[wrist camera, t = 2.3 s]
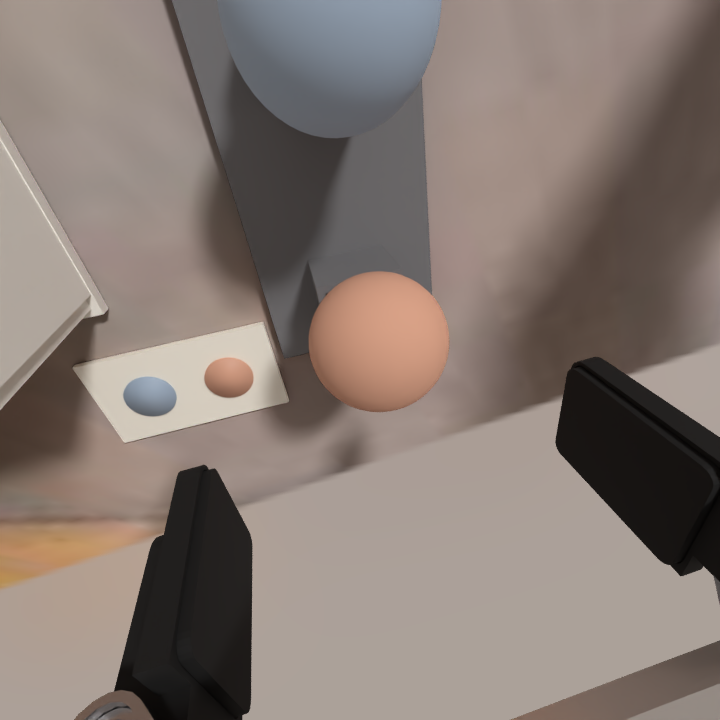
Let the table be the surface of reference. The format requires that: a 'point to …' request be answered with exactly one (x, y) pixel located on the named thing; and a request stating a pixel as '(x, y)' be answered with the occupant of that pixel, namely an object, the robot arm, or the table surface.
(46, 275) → the two-slot cubby shelf
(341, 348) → the terracotta ball
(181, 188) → the table surface
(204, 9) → the ball stand
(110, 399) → the card
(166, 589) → the robot arm
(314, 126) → the slate ball
